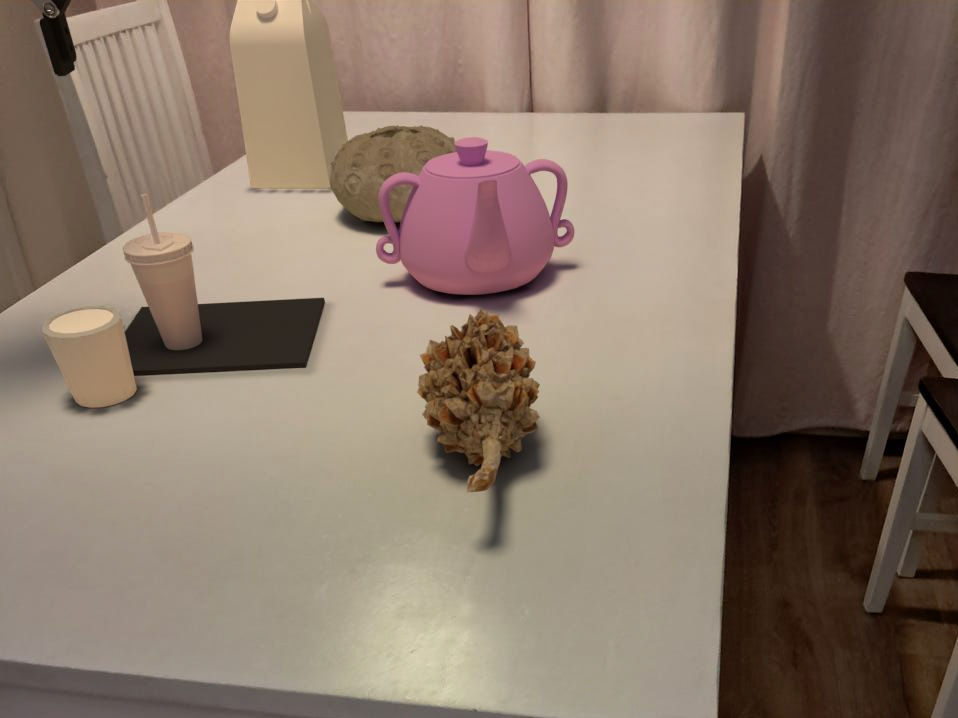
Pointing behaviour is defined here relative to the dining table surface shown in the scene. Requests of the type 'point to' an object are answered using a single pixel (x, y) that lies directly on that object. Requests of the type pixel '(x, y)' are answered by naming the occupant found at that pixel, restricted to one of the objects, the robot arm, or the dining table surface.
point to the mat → (231, 338)
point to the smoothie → (167, 282)
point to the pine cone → (480, 393)
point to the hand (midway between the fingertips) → (8, 75)
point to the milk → (286, 92)
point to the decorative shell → (383, 167)
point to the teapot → (474, 221)
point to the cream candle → (92, 355)
